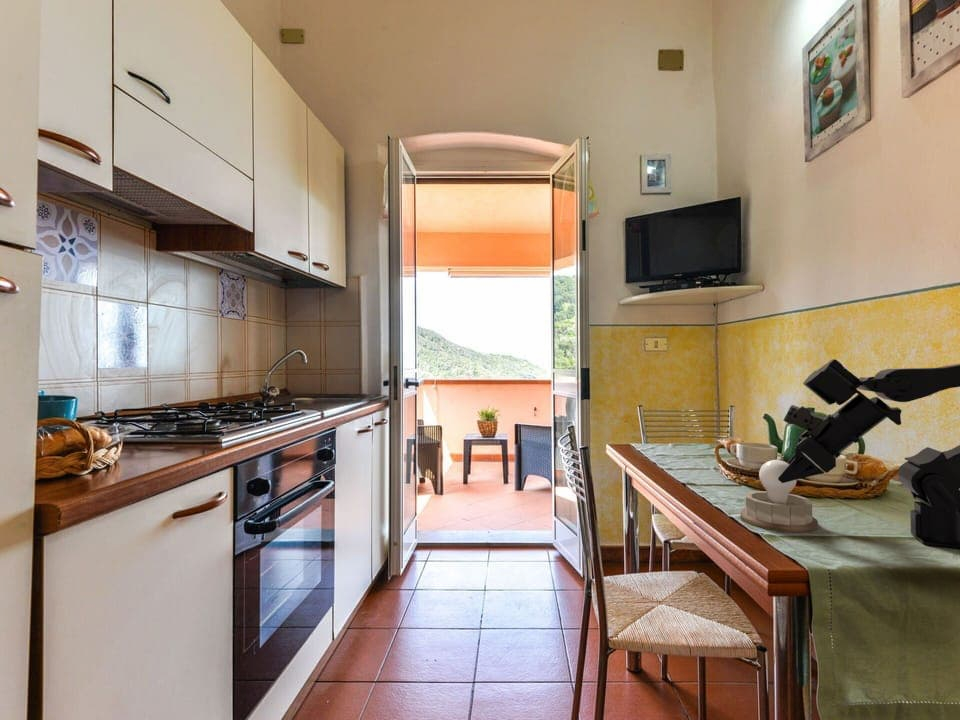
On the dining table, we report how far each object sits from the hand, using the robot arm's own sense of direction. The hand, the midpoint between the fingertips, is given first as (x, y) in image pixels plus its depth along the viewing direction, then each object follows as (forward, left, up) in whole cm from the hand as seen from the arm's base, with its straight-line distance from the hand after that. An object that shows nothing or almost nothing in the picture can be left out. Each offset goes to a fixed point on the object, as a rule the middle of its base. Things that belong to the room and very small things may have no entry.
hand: (782, 476), depth 97 cm
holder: (+1, 0, -9) cm, 9 cm away
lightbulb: (+1, 0, -8) cm, 8 cm away
